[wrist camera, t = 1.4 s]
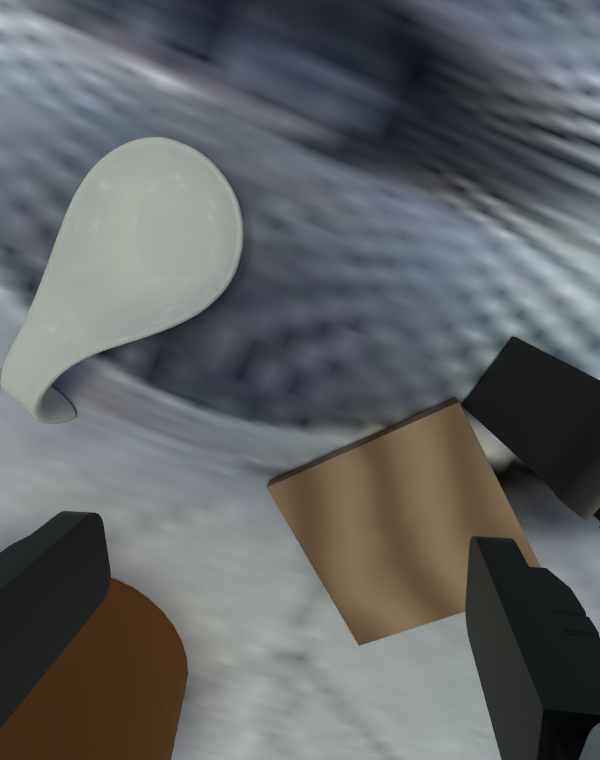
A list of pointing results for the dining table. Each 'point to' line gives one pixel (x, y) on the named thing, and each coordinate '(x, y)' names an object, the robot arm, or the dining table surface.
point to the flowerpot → (106, 689)
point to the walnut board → (398, 520)
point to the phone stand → (545, 420)
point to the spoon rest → (126, 264)
